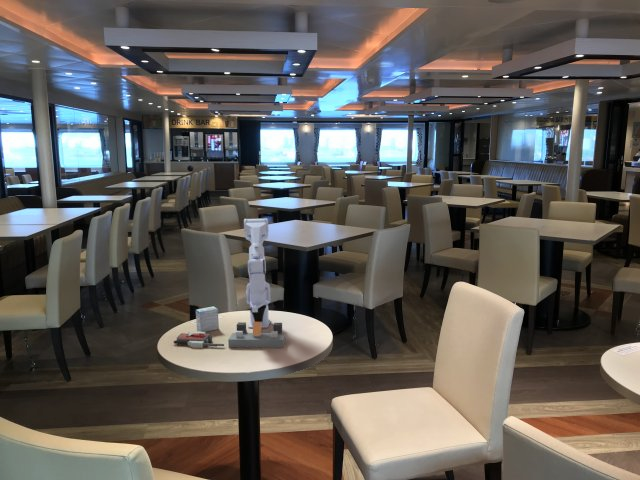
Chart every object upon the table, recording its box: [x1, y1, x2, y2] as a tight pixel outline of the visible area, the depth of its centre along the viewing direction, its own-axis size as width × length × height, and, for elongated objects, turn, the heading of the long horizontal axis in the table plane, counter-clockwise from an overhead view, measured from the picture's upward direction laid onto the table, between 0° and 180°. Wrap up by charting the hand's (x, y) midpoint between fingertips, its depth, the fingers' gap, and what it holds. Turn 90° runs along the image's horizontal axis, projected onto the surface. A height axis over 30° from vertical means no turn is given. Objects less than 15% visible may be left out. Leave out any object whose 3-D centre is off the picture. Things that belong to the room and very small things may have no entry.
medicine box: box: [195, 306, 220, 332], centre depth 210 cm, size 8×4×9 cm, turn 123°
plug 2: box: [272, 322, 283, 333], centre depth 201 cm, size 10×3×6 cm, turn 176°
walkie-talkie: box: [173, 330, 225, 349], centre depth 195 cm, size 9×4×20 cm
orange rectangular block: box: [252, 322, 263, 336], centre depth 193 cm, size 1×3×5 cm, turn 86°
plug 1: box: [236, 321, 248, 333], centre depth 202 cm, size 10×3×6 cm, turn 176°
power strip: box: [227, 330, 286, 349], centre depth 193 cm, size 7×20×5 cm, turn 87°
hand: (258, 325), depth 197 cm, fingers closed
